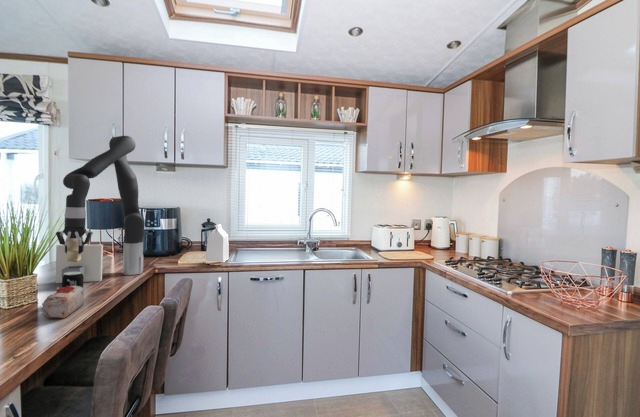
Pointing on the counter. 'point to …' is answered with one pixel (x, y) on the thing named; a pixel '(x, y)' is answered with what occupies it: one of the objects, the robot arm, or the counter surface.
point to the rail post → (73, 250)
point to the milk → (218, 245)
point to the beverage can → (73, 279)
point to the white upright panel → (81, 263)
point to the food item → (63, 302)
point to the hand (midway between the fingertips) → (74, 253)
